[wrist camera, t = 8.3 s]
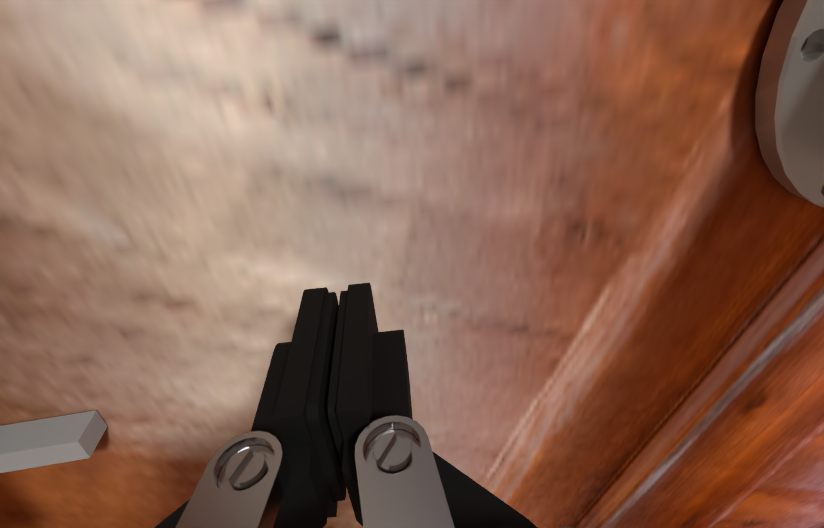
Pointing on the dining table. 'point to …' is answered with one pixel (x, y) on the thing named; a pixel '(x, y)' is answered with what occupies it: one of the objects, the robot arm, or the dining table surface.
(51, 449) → the overhang shelf
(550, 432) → the dining table surface
